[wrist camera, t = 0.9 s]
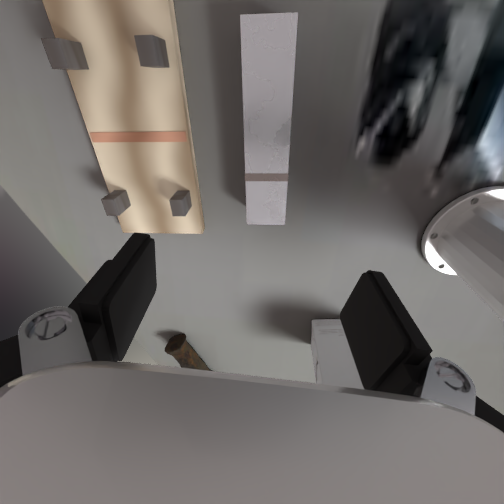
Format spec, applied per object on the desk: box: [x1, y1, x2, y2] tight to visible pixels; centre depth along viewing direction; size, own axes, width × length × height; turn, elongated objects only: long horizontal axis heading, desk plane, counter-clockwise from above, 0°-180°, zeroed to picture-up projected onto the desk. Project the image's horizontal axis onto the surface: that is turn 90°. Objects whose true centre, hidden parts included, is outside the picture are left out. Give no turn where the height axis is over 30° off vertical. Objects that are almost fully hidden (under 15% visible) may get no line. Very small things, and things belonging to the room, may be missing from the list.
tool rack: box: [41, 0, 205, 234], centre depth 27 cm, size 11×24×4 cm, turn 1°
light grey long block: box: [240, 12, 298, 225], centre depth 26 cm, size 4×18×4 cm, turn 1°
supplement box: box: [311, 319, 365, 390], centre depth 40 cm, size 7×7×13 cm
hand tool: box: [165, 334, 210, 371], centre depth 52 cm, size 19×4×5 cm, turn 20°
